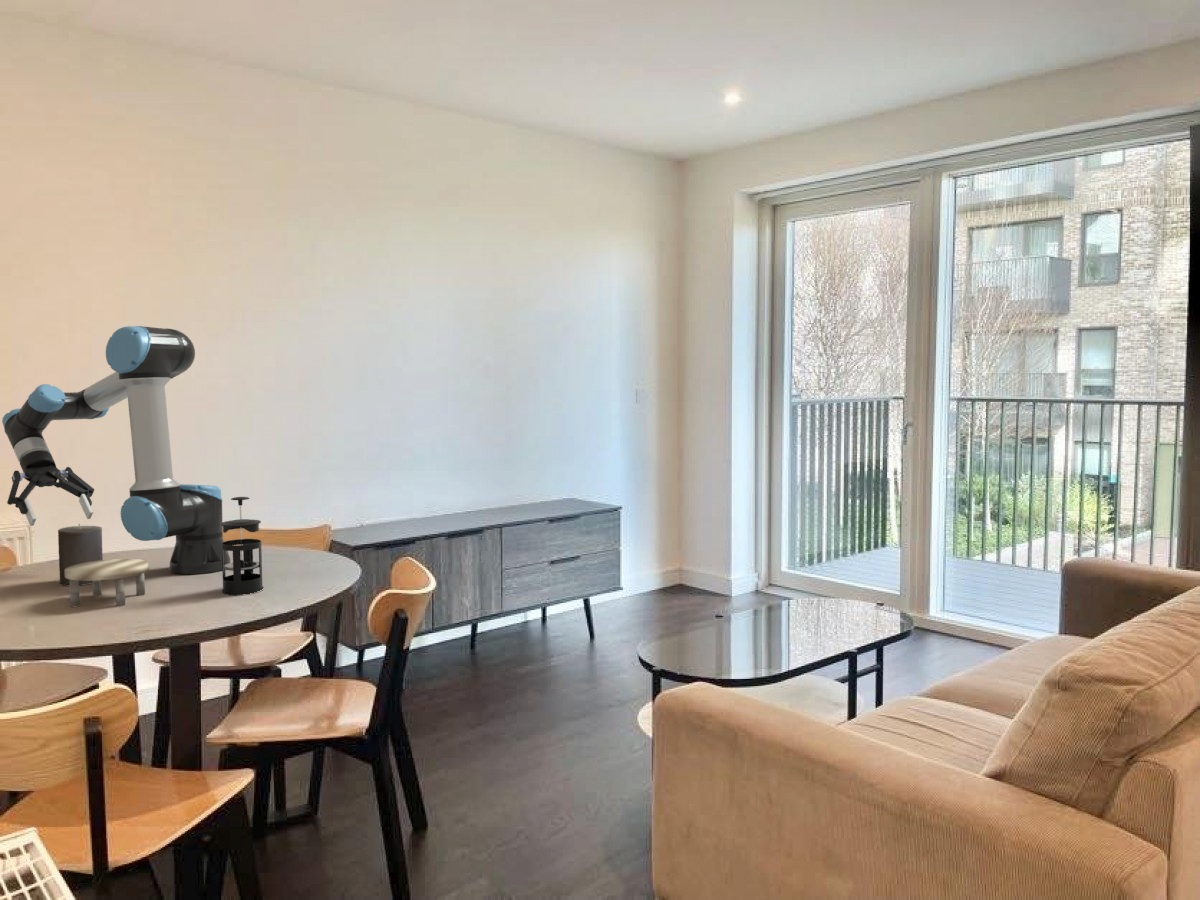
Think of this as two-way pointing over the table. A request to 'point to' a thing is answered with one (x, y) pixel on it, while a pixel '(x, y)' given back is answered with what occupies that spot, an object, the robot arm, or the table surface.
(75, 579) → the beige round legged stand
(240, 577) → the french press
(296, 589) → the table surface
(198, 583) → the table surface
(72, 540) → the pillar candle
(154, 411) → the robot arm
